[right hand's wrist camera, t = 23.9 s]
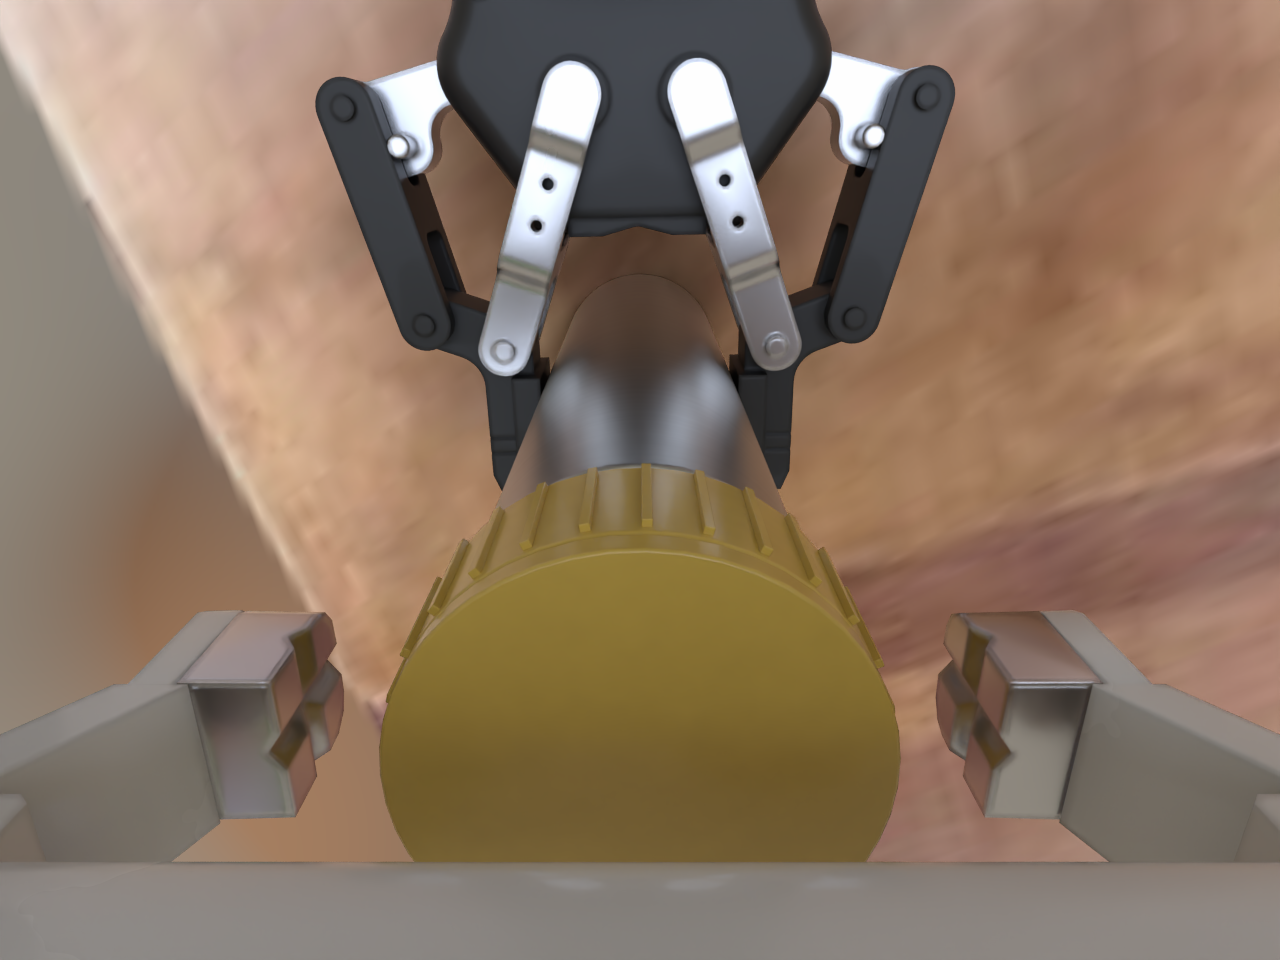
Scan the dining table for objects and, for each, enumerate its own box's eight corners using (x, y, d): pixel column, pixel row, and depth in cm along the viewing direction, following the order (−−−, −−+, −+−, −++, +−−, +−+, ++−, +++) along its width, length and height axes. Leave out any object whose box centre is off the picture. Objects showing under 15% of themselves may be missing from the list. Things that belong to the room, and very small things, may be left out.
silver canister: (594, 434, 28) (513, 919, 10) (546, 299, 27) (355, 599, 9) (729, 394, 28) (891, 831, 10) (690, 254, 26) (799, 474, 8)
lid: (333, 655, 10) (261, 775, 8) (649, 362, 9) (651, 423, 7) (632, 890, 12) (631, 1040, 10) (944, 668, 10) (1016, 791, 8)
